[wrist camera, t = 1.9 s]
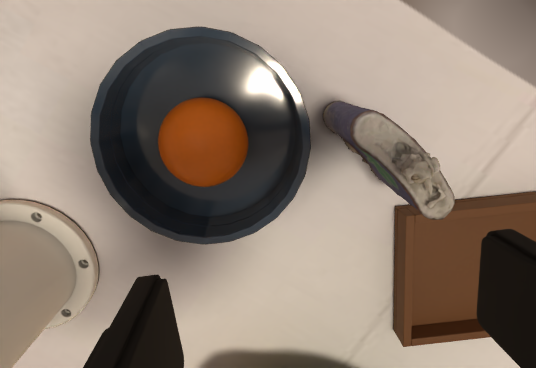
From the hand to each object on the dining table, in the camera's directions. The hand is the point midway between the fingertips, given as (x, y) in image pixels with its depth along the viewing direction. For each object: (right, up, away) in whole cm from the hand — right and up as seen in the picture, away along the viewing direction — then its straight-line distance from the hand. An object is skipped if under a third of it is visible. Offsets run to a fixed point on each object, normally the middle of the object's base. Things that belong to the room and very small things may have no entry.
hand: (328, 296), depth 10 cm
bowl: (-7, +7, +19) cm, 21 cm away
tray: (+19, -4, +24) cm, 31 cm away
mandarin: (-6, +6, +15) cm, 18 cm away
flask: (+7, +7, +20) cm, 22 cm away
